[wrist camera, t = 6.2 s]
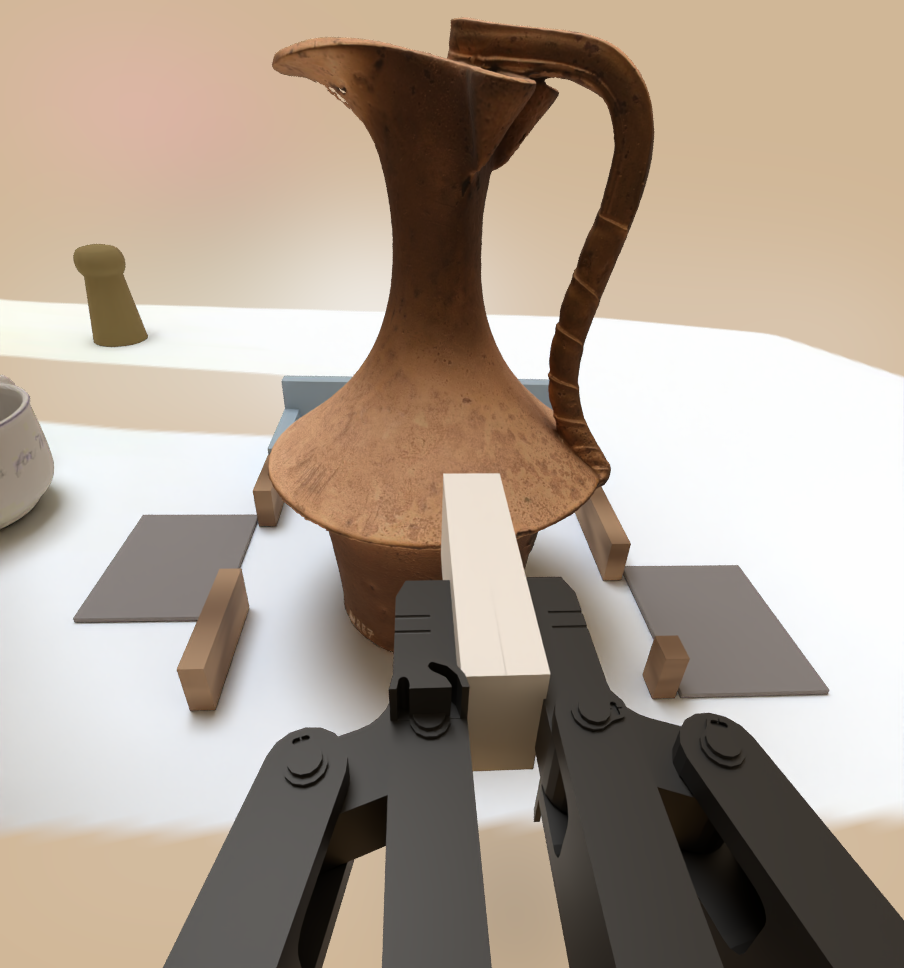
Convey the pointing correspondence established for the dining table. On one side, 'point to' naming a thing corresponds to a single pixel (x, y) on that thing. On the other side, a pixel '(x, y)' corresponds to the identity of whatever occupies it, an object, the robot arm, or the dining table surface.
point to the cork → (109, 296)
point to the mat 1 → (168, 568)
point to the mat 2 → (722, 632)
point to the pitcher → (455, 305)
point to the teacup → (21, 454)
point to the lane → (228, 596)
